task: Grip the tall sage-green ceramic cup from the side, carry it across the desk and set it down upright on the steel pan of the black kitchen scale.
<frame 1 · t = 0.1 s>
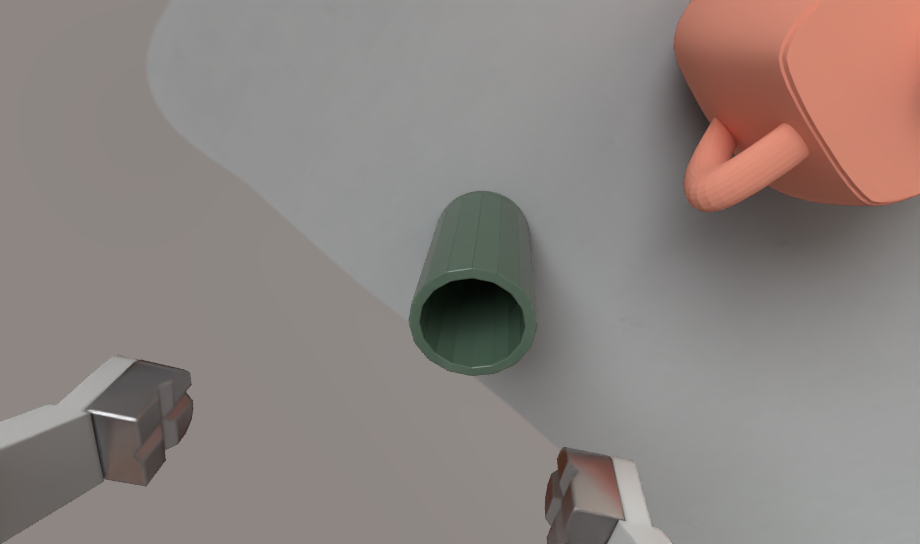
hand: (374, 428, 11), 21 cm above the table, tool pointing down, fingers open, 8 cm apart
cup: (482, 234, 32), on the table
teapot: (821, 13, 25), on the table
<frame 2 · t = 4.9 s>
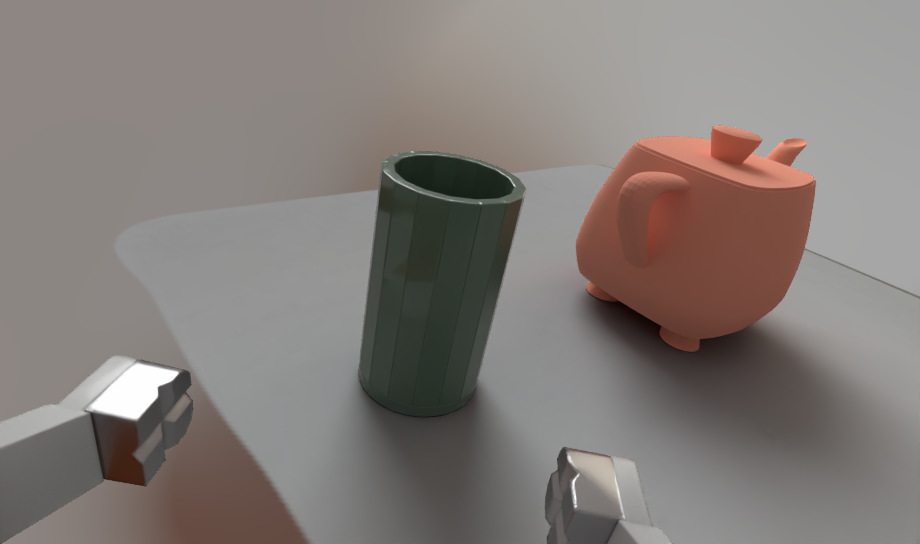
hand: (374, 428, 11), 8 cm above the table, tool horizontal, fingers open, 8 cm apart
cup: (417, 374, 25), on the table
teapot: (667, 304, 37), on the table
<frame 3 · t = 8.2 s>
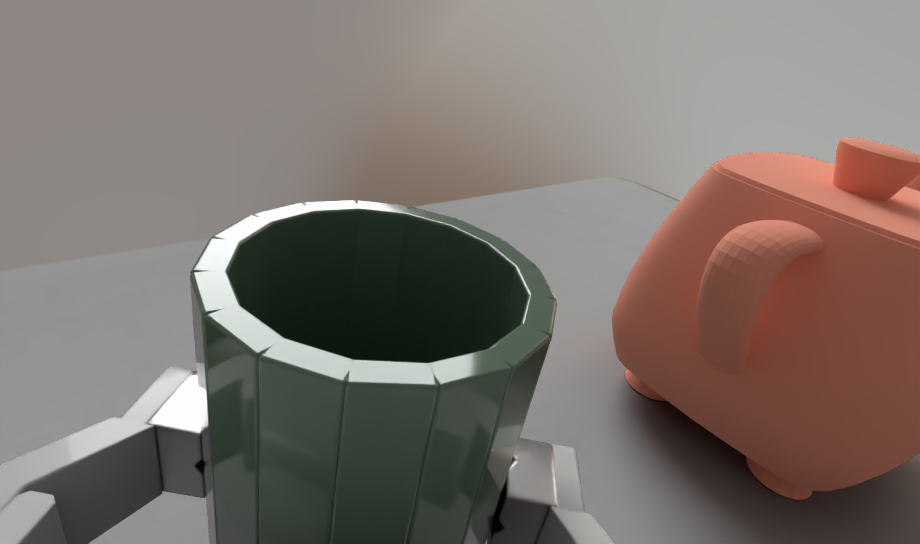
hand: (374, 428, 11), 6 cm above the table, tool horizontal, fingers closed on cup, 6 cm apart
teapot: (744, 398, 25), on the table
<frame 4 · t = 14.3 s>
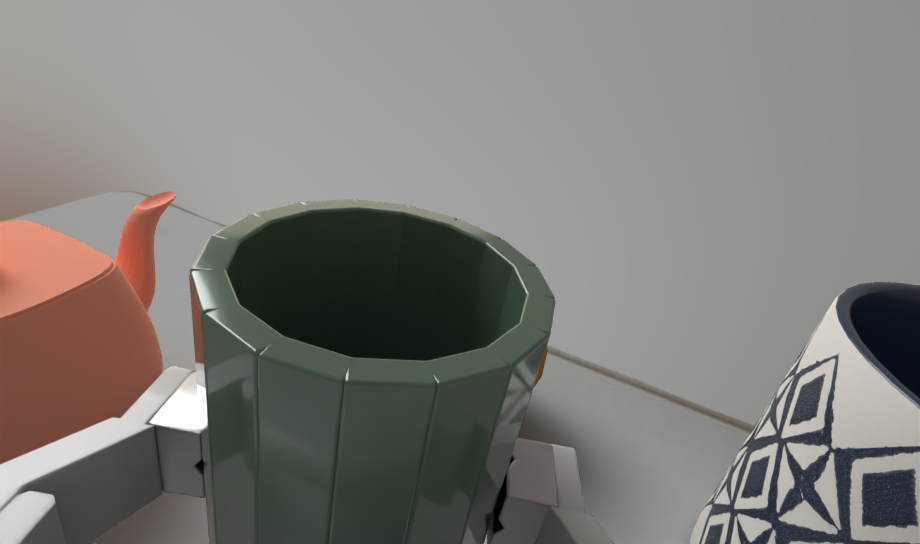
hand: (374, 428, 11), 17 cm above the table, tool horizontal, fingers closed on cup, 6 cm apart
teapot: (33, 430, 29), on the table
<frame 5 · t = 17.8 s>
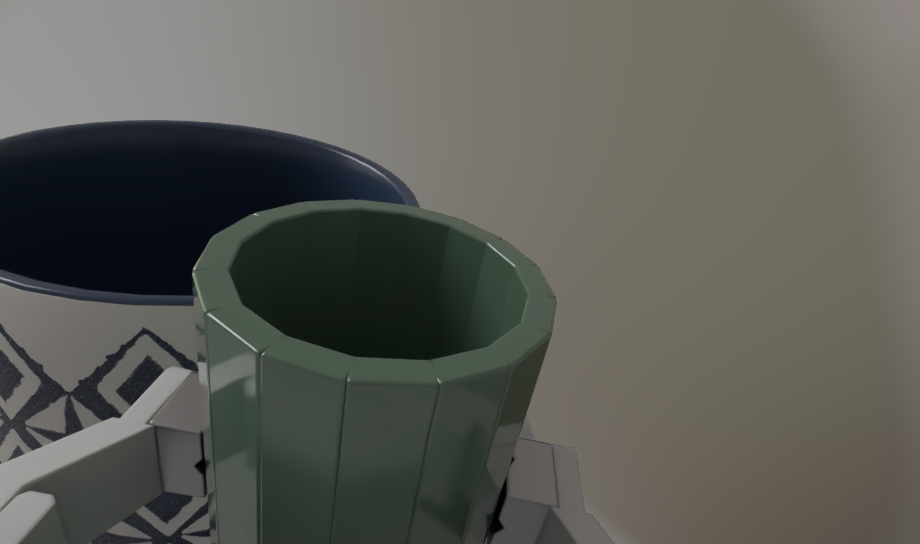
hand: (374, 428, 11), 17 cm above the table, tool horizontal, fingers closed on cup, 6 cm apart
planter: (220, 459, 30), on the table
when the fingers open (9 cm above the table, at t = 20.7 s): cup stays where it is, resting on scale.
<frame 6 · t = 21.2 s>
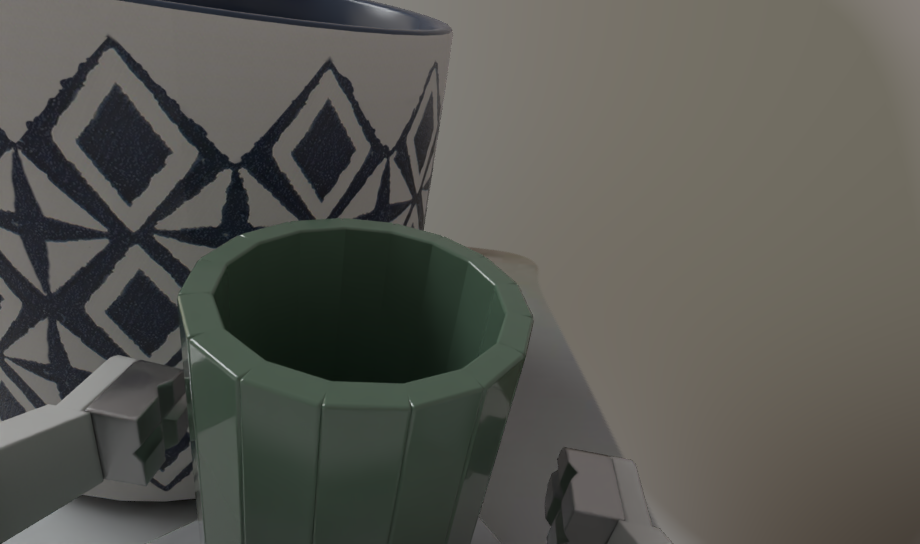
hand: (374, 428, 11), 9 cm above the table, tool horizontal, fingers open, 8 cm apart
planter: (218, 355, 26), on the table
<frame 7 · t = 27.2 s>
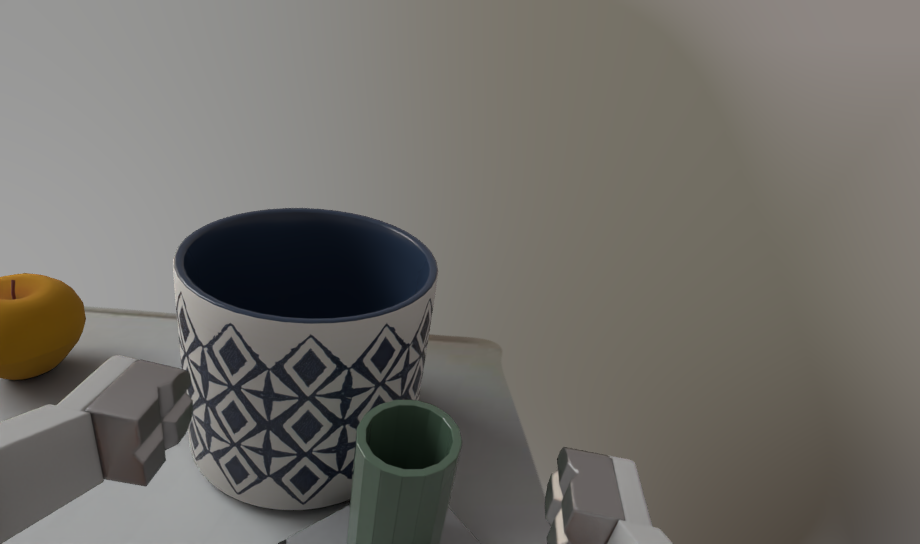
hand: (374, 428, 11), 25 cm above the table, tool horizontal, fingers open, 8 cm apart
planter: (308, 427, 45), on the table
apple: (31, 372, 46), on the table
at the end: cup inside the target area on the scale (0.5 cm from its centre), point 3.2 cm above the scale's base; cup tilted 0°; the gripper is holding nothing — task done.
